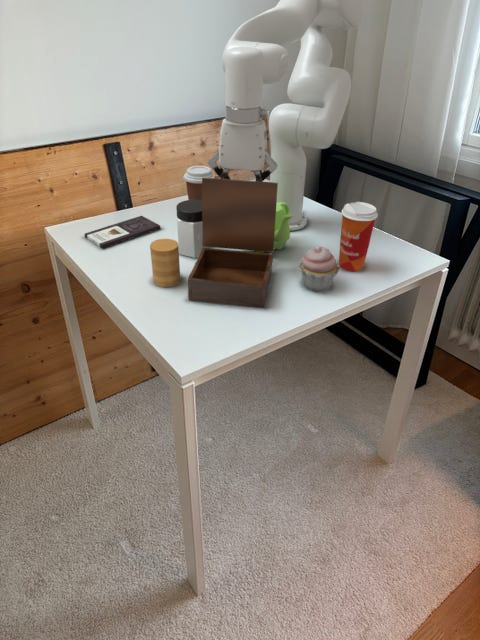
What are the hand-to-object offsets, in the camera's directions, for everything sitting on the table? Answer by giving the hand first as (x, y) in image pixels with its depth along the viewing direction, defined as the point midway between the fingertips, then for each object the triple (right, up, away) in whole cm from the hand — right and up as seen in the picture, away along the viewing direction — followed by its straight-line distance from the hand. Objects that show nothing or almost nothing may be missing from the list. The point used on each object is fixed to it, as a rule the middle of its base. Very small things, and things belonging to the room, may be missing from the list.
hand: (241, 196), depth 116 cm
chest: (-2, -21, -1) cm, 21 cm away
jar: (-12, -11, +14) cm, 21 cm away
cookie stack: (-17, -19, +1) cm, 26 cm away
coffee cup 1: (-12, +5, +36) cm, 38 cm away
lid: (-1, -5, -2) cm, 6 cm away
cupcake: (+17, -20, +1) cm, 27 cm away
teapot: (+6, -9, +16) cm, 19 cm away
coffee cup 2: (+27, -15, +8) cm, 32 cm away
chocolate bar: (-32, -5, +21) cm, 39 cm away
